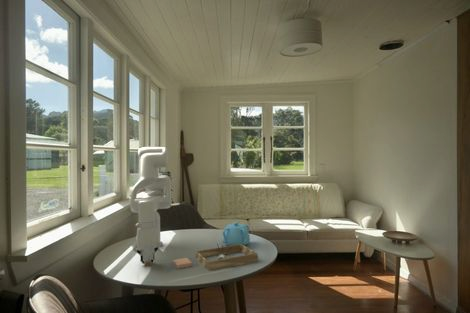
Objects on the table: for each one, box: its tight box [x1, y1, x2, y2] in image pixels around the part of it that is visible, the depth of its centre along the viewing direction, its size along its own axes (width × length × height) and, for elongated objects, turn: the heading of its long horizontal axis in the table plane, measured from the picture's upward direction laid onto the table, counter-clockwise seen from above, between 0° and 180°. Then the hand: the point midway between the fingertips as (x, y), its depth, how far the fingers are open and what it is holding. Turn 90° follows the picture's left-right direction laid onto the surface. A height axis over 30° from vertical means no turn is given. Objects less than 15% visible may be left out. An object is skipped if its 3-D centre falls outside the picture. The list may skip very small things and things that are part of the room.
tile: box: [172, 257, 192, 269], centre depth 142 cm, size 2×7×8 cm
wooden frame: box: [194, 244, 259, 271], centre depth 149 cm, size 19×27×4 cm
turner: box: [143, 243, 154, 268], centre depth 145 cm, size 11×5×8 cm
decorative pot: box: [221, 221, 251, 246], centre depth 175 cm, size 16×16×14 cm
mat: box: [160, 257, 200, 273], centre depth 142 cm, size 12×16×1 cm
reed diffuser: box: [216, 243, 227, 260], centre depth 150 cm, size 10×7×20 cm
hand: (147, 261), depth 144 cm, fingers open, 3 cm apart
